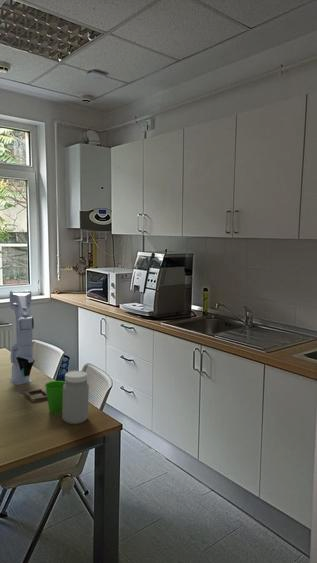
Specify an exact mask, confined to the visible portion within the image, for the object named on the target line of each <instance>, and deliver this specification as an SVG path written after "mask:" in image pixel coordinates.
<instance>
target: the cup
mask: <svg viewBox="0 0 317 563" xmlns="http://www.w3.org/2000/svg"><path fill="white" fill-rule="evenodd" d="M64 384H65V380H51V381H48V382H46V383H45V384H44V387H45V391H46V392H47V399H48V400H47V405H48V411H49V412H50V414H55V415H56V414H62V407H63V386H64Z"/></svg>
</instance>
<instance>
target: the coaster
mask: <svg viewBox="0 0 317 563" xmlns="http://www.w3.org/2000/svg"><path fill="white" fill-rule="evenodd" d="M26 391H31V390H30V389H22V390H21V389H20V390H19V391H18V393H19V394H20V395H21V394H22V395H24V392H26Z"/></svg>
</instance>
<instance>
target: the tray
mask: <svg viewBox="0 0 317 563" xmlns="http://www.w3.org/2000/svg"><path fill="white" fill-rule="evenodd" d="M23 395H24V396H25V397H26V399H28V400H30V402H32V403H33V404H34V403H40V402H42V401H48V399H47V392H46V389H43V388H38V389H32V390H30V391H26V392H24V394H23Z"/></svg>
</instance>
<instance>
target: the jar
mask: <svg viewBox="0 0 317 563" xmlns="http://www.w3.org/2000/svg"><path fill="white" fill-rule="evenodd" d="M64 382H65V384H64V386H63V407H62V412H61V414H62V415H61V416H62V417H61V418H62V420H63V421H64V422H65V423H66V424H70V425H79V424H82V423H84V422H85V421H87V420H88V416H89V391H90V390H89V388H90V387H89V384H88V373H87V372H86V371H84V370H70V371H68V372H65V374H64Z"/></svg>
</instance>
